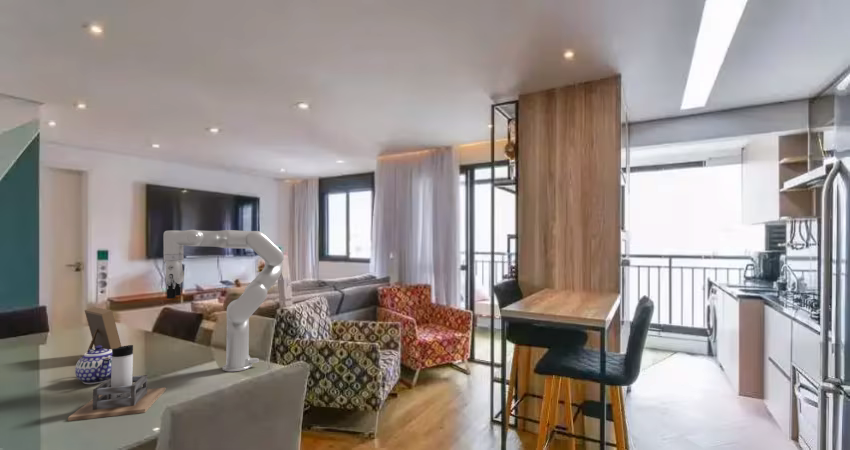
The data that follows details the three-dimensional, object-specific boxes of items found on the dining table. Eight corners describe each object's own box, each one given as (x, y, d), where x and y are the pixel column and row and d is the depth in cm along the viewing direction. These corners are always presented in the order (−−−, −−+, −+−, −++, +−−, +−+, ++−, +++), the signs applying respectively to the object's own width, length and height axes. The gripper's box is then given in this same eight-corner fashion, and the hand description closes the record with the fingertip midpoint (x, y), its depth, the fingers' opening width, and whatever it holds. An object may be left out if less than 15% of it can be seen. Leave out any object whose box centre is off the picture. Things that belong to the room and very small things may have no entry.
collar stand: (165, 390, 162) (165, 370, 162) (144, 412, 141) (145, 389, 141) (99, 396, 156) (100, 375, 156) (68, 421, 135) (68, 396, 135)
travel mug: (121, 405, 144) (122, 348, 145) (105, 403, 146) (107, 347, 147) (136, 398, 150) (138, 343, 151) (122, 397, 152) (123, 342, 153)
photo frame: (106, 352, 220) (107, 305, 221) (124, 358, 208) (125, 308, 209) (71, 359, 207) (72, 309, 208) (88, 365, 195) (89, 313, 196)
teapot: (68, 379, 177) (69, 344, 177) (110, 370, 188) (111, 338, 189) (82, 391, 161) (83, 353, 162) (128, 381, 173) (128, 346, 173)
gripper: (178, 258, 174) (179, 298, 173) (187, 257, 190) (187, 293, 190) (158, 259, 171) (158, 300, 171) (168, 257, 188) (169, 295, 187)
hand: (174, 296), depth 180 cm, fingers open, 9 cm apart
